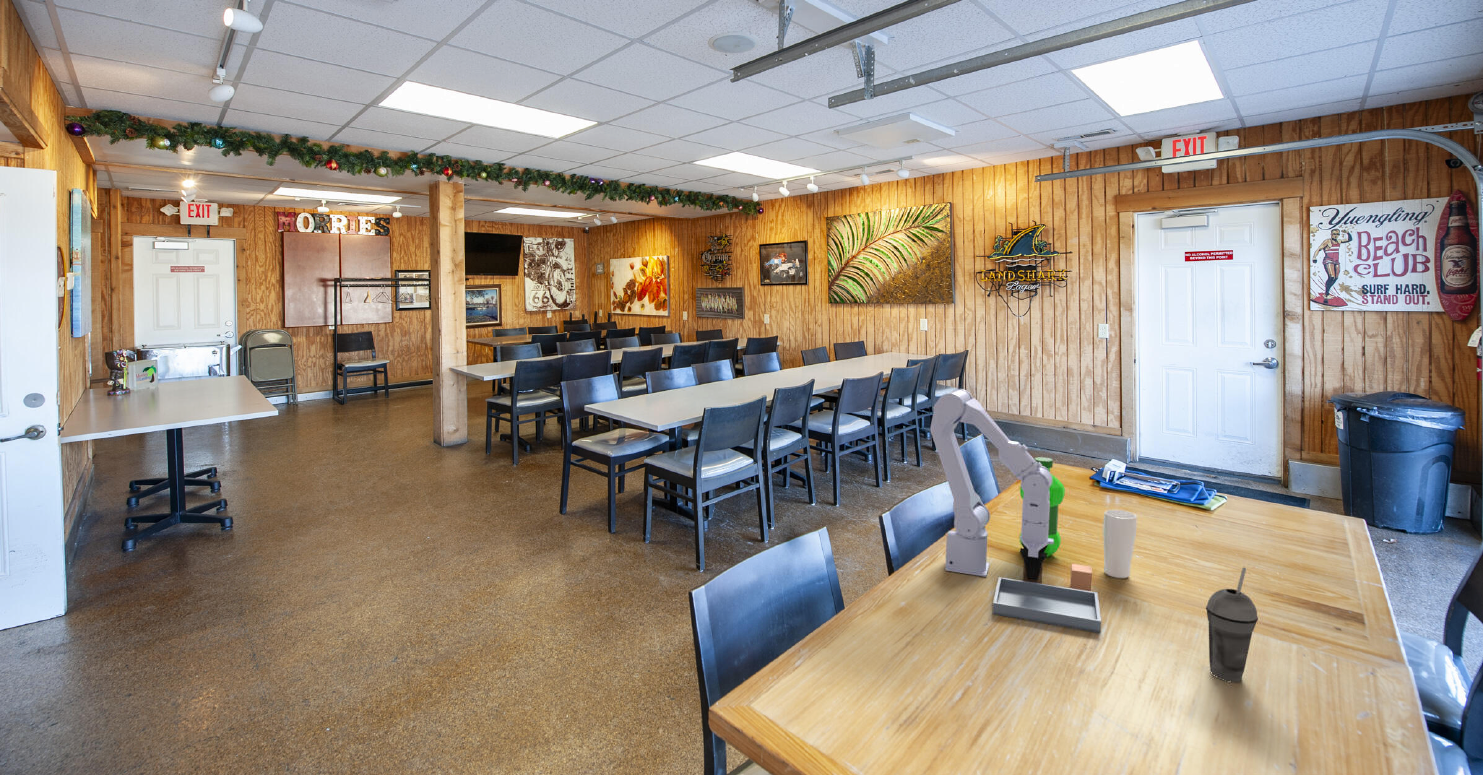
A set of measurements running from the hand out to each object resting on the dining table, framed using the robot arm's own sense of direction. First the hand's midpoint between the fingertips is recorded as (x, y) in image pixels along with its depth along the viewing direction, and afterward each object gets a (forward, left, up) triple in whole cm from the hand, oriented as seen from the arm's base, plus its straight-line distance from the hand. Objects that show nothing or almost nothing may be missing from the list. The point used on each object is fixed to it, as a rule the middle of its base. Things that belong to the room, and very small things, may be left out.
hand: (1032, 575), depth 155 cm
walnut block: (0, 0, -1) cm, 1 cm away
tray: (+3, -13, -1) cm, 14 cm away
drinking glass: (+18, +12, -2) cm, 22 cm away
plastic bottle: (+1, +19, -2) cm, 19 cm away
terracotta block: (+10, 0, -2) cm, 10 cm away
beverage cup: (+32, -28, -2) cm, 43 cm away
